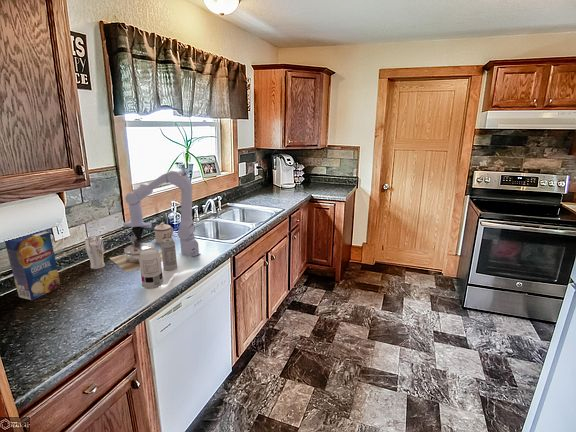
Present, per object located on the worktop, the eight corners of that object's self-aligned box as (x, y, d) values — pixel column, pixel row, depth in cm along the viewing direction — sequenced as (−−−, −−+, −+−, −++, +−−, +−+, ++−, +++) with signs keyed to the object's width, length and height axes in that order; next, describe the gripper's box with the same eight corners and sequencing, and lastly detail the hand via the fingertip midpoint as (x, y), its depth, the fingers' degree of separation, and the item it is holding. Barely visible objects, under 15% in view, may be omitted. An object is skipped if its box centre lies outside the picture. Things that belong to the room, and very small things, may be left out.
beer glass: (86, 269, 153) (80, 239, 149) (99, 264, 159) (94, 234, 155) (96, 272, 151) (91, 241, 147) (109, 266, 157) (105, 236, 153)
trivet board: (172, 260, 164) (172, 258, 164) (126, 274, 149) (126, 272, 149) (152, 248, 179) (152, 246, 179) (109, 260, 164) (109, 258, 164)
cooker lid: (158, 250, 162) (157, 244, 161) (128, 257, 153) (127, 250, 152) (146, 239, 176) (146, 233, 175) (118, 245, 168) (118, 239, 167)
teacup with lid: (164, 246, 182) (162, 226, 179) (152, 243, 186) (149, 223, 183) (179, 239, 193) (177, 220, 189) (167, 237, 196) (165, 218, 193)
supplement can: (138, 287, 138) (133, 254, 133) (152, 278, 145) (148, 247, 141) (153, 291, 135) (149, 257, 131) (167, 282, 142) (163, 249, 138)
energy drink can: (176, 266, 157) (173, 236, 153) (178, 271, 152) (175, 241, 148) (163, 268, 155) (160, 238, 151) (164, 273, 150) (160, 243, 146)
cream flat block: (159, 261, 161) (158, 252, 159) (130, 267, 153) (129, 258, 152) (149, 248, 176) (148, 240, 174) (122, 254, 168) (121, 246, 167)
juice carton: (31, 300, 127) (18, 242, 121) (18, 297, 130) (4, 239, 123) (61, 286, 138) (50, 232, 131) (48, 283, 140) (36, 230, 134)
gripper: (118, 216, 165) (121, 242, 168) (145, 217, 163) (148, 243, 167) (126, 212, 171) (130, 237, 175) (152, 214, 169) (155, 238, 173)
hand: (139, 240), depth 171 cm, fingers closed
